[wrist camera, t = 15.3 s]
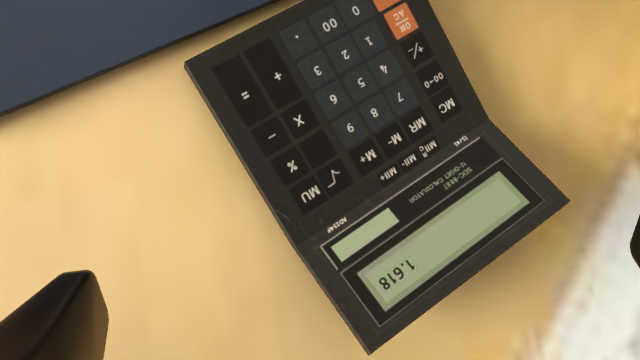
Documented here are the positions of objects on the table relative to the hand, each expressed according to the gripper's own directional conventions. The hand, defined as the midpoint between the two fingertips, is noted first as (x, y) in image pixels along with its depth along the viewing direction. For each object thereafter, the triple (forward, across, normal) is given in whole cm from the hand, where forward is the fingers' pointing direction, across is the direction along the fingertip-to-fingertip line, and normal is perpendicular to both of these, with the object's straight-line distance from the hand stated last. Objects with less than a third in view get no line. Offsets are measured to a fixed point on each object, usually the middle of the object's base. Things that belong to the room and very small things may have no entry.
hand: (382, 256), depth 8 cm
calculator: (+11, -2, +3) cm, 12 cm away
